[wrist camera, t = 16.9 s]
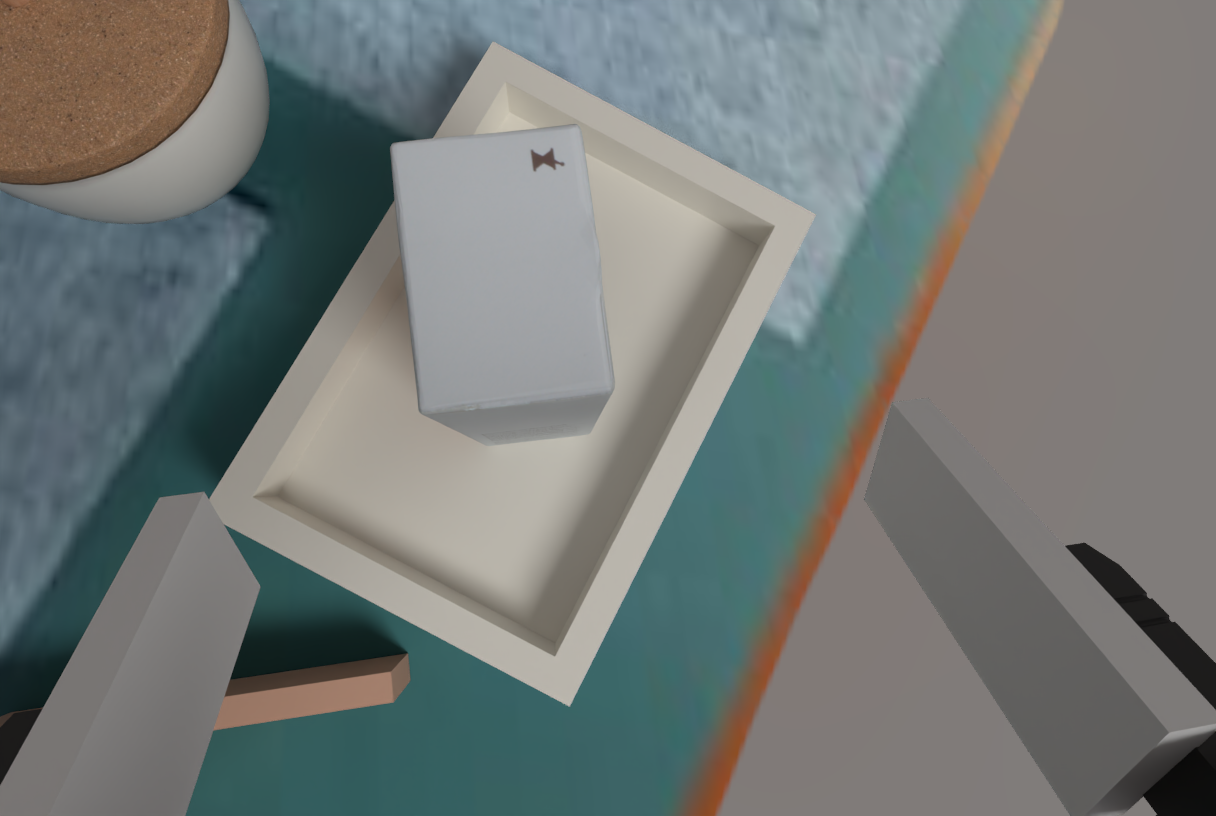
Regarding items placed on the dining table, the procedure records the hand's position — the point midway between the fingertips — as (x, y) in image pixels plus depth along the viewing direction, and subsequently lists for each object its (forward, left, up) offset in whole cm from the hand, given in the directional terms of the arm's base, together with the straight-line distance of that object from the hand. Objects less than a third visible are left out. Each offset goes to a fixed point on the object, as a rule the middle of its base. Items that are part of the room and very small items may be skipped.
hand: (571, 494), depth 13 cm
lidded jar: (-21, 0, -13) cm, 25 cm away
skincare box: (-4, +3, -12) cm, 13 cm away
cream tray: (-4, +3, -13) cm, 14 cm away
